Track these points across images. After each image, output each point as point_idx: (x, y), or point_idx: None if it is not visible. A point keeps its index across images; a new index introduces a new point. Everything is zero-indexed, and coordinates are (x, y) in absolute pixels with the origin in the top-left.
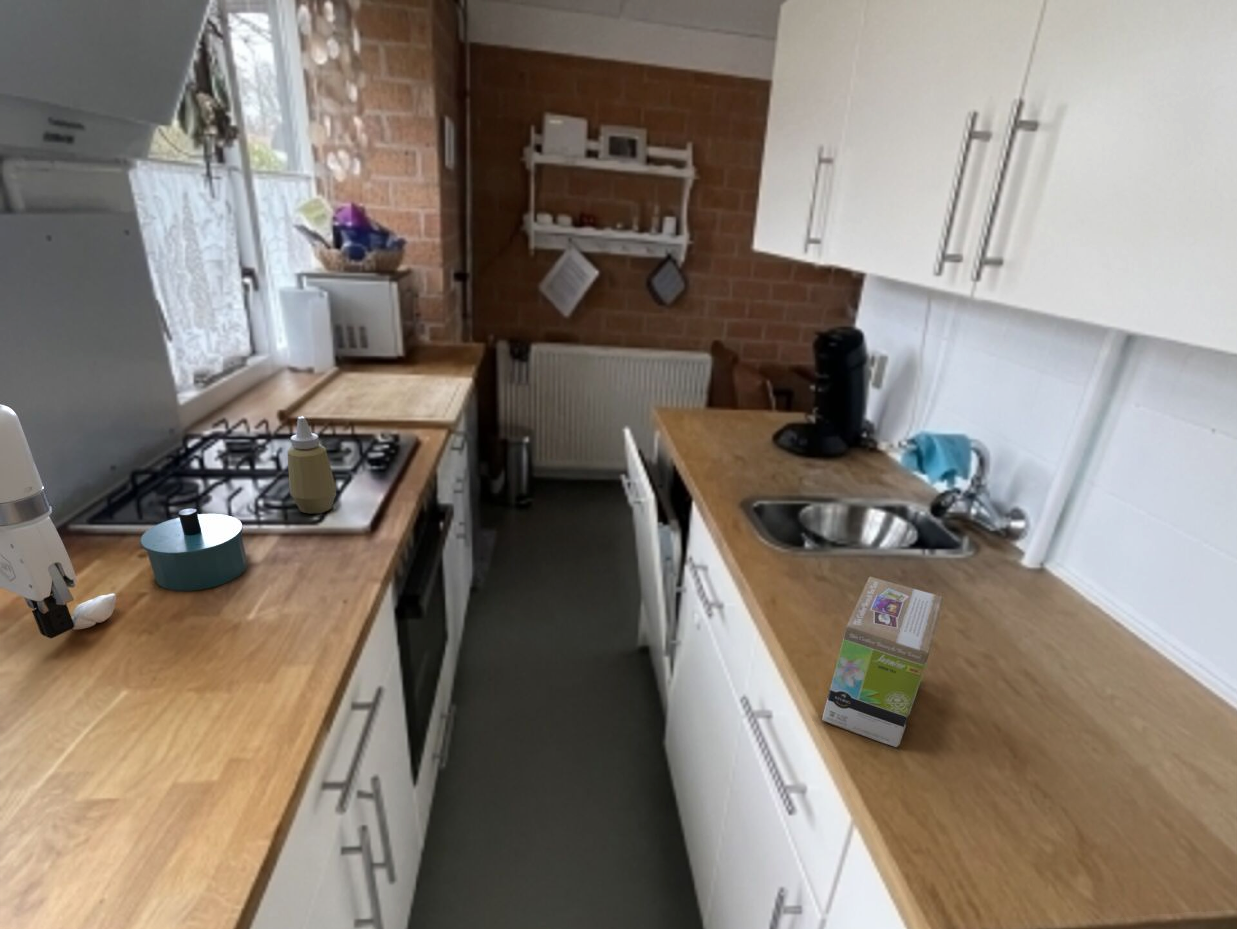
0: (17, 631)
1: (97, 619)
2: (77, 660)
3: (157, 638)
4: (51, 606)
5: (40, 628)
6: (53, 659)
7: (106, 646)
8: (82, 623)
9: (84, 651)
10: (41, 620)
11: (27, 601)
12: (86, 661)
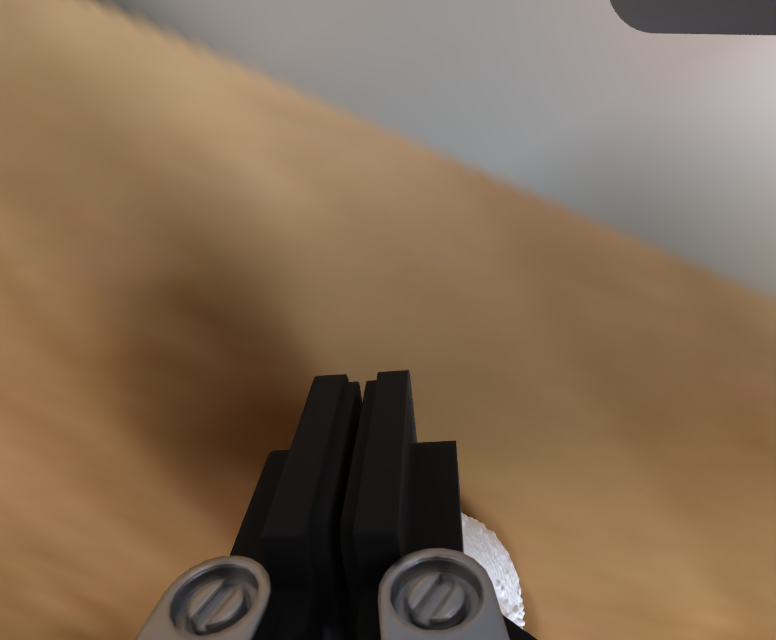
0: (749, 307)
1: None
2: (50, 341)
3: (5, 627)
4: None
5: (378, 406)
6: (166, 271)
7: (99, 487)
8: None
9: (129, 407)
10: (286, 477)
11: (471, 627)
12: (2, 362)
